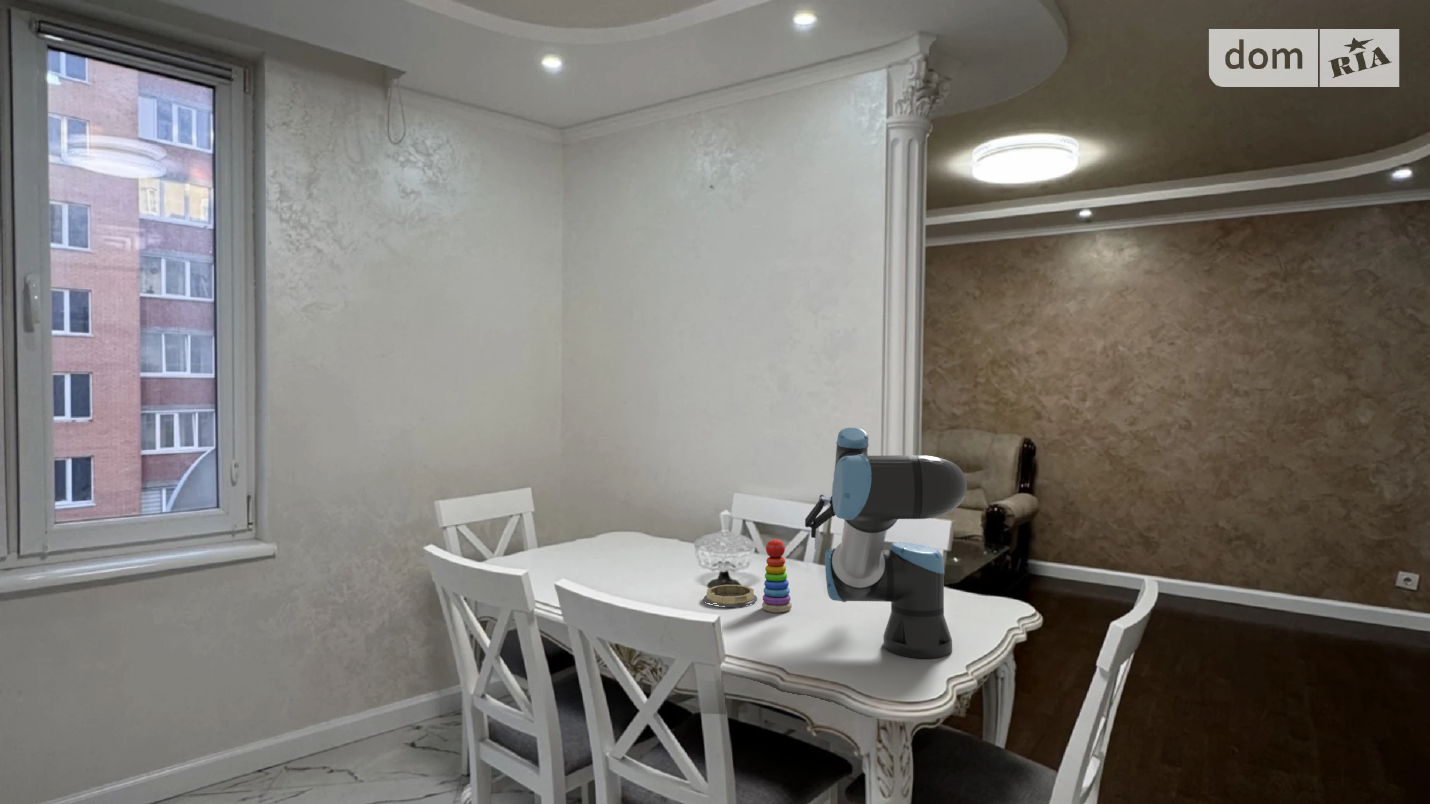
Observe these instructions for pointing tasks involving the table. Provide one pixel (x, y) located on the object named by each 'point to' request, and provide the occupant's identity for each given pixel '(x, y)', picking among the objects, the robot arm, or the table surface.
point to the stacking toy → (776, 580)
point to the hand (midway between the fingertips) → (841, 548)
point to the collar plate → (730, 595)
